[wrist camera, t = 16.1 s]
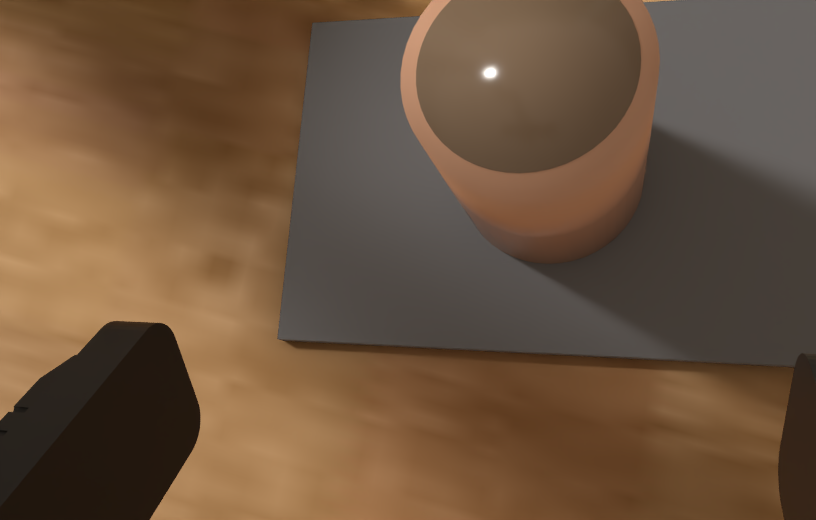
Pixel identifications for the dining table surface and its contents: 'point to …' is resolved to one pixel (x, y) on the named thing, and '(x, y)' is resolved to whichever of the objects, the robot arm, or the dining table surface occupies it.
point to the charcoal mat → (596, 273)
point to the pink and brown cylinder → (536, 116)
